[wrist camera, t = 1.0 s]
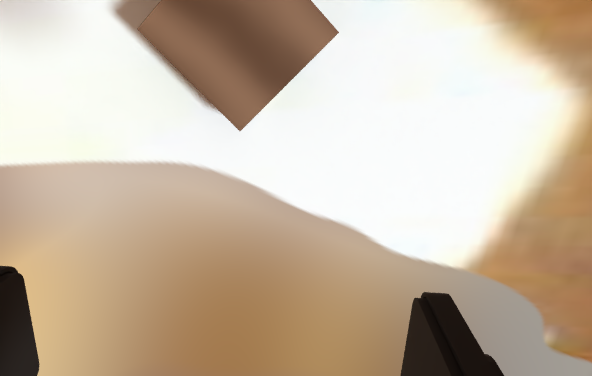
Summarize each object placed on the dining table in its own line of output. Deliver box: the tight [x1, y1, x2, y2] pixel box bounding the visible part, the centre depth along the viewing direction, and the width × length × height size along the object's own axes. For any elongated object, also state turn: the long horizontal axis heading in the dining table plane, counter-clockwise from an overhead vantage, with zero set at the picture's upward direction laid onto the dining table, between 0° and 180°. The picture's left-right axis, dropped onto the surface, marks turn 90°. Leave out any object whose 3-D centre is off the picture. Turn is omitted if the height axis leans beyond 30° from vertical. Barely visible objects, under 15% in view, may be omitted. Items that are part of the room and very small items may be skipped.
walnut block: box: [138, 0, 339, 131], centre depth 30 cm, size 10×10×4 cm
